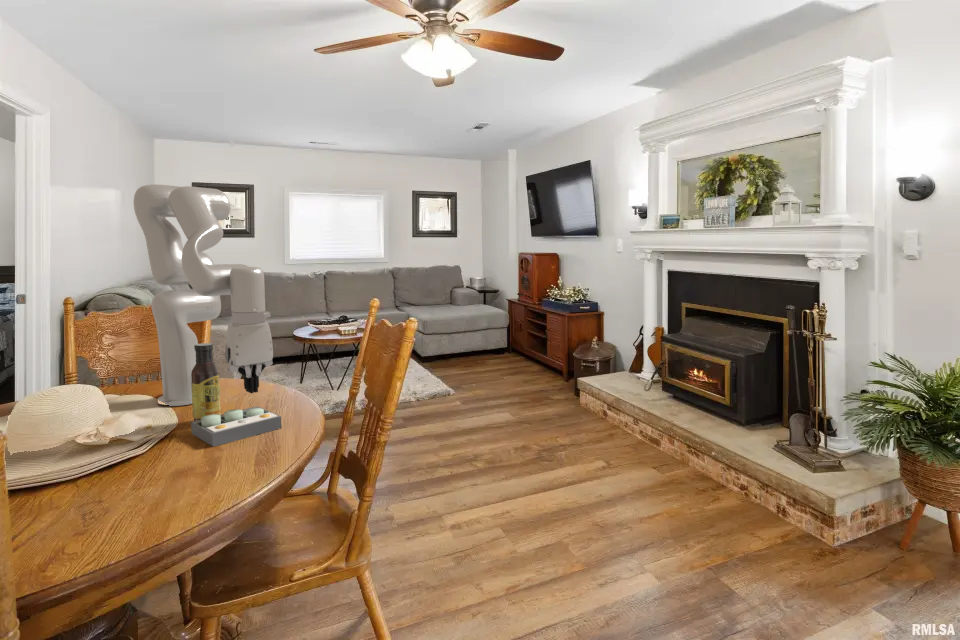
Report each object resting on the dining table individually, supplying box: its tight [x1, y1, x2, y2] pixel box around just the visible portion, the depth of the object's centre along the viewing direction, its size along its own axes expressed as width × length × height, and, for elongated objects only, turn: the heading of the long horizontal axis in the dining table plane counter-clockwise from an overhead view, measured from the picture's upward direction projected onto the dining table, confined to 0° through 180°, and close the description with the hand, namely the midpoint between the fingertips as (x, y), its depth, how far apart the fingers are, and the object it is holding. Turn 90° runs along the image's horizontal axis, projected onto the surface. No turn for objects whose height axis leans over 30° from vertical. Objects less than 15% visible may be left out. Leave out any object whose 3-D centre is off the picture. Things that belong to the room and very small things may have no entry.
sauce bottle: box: [191, 342, 222, 421], centre depth 131 cm, size 7×6×20 cm
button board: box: [190, 405, 282, 447], centre depth 125 cm, size 12×16×3 cm
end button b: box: [246, 407, 265, 417], centre depth 130 cm, size 4×4×3 cm
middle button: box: [223, 408, 243, 422], centre depth 126 cm, size 4×4×3 cm
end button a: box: [201, 414, 221, 428], centre depth 122 cm, size 4×4×3 cm
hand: (251, 391), depth 130 cm, fingers closed
